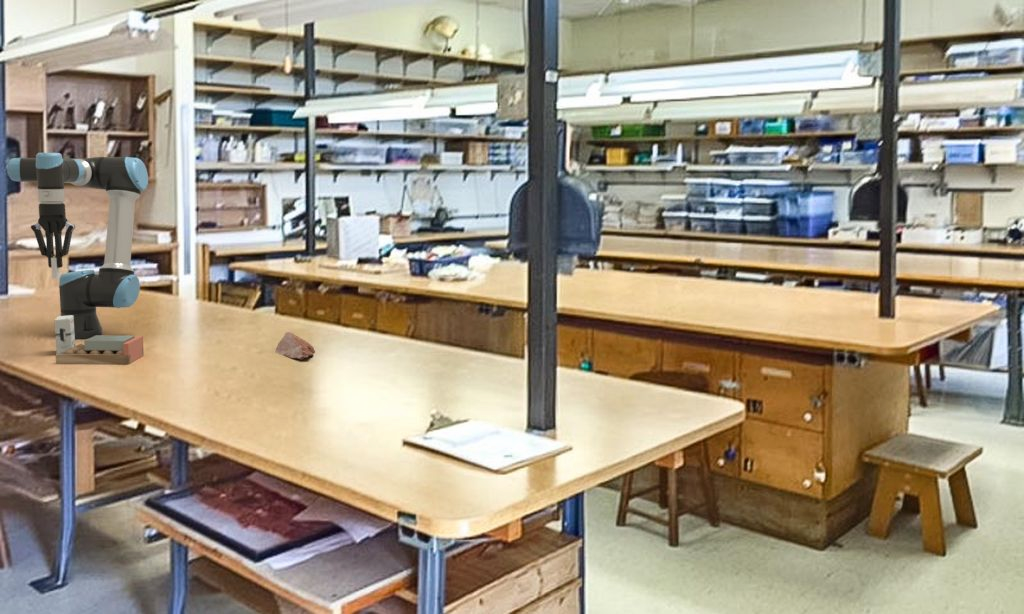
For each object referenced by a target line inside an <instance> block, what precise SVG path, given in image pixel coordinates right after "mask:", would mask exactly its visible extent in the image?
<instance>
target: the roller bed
mask: <svg viewBox="0 0 1024 614" xmlns="http://www.w3.org/2000/svg"><path fill="white" fill-rule="evenodd" d="M144 353H145V351H144V347H143V348H142V357H144V355H145V354H144ZM124 361H127V363H126V362H124ZM129 362H130V364H132V363H131V355H128V357H127V356H126V355H123V351H121V350H120V351H117V350H85V346H84V344H82V343H81V344H77V345H75V347H72V348H70V349H68V350H66V351H64V352H63V354H57V353H56V354H55V364H57V365H59V364H62V365H63V364H64V365H130V364H129Z"/></svg>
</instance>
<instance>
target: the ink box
mask: <svg viewBox="0 0 1024 614" xmlns="http://www.w3.org/2000/svg"><path fill="white" fill-rule="evenodd" d="M54 334H55V348H56V354H63V352H64V351H66V350H68V349H70V348H72V347H75V346H76V339H75V333H74V316H73V315H68V316H61V315H60V316H59V315H58V316H57V317H56V318H55V319H54Z"/></svg>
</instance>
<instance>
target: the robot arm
mask: <svg viewBox="0 0 1024 614" xmlns="http://www.w3.org/2000/svg"><path fill="white" fill-rule="evenodd" d="M6 165H7V167H6V172H7V176H8V177H9V179H10V180H11V181H14V182H20V183H24V182H28V183H36V184H37V198H38V199H37V201H38V202H39V204H38V216H39V218H38V219H37V222H36V223H35V224H32V225H30V229H31V230H32V232H33V233H34V235H35V239H36V241H37V245H38V248H39V252H40V255H41V256H44V257H47V264H48V268H49V269H50V268H51V279H53V280H55V279H59V281H58V283H59V284H58V289H59V304H60V306H59V307H60V308H59V309H60V316H68V315H73V316H74V333H75V340H76V339H77V340H78V339H79V340H80V339H89V338H91V337H93V336H96V335H103V327H102V325H101V322H100V319H99V317H98V314H97V308H116V309H124V308H130V307H132V306H133V305H134V304H135V303H136V301H137V300H138V297H139V294H140V290H141V283H140V279H139V278H138V276H137V275H136V274H135V270H134V269H133V268H132V267H131V261H132V260H131V259H132V247H133V236H134V235H133V233H134V220H135V209H136V202H137V200H138V199H139V198H140V197H141V192H142V191H146V189H148V185H149V174H148V170H147V167H146V165H145V163H144V162H143V161H142V160H141V159H140V158H138V157H129V156H93V157H87V158H86V157H84V158H72V157H71V158H69V157H67V158H63V156H62V153H60V152H37V154H36V155H35V157H13V158H11V159H10V160H8V163H7V164H6ZM64 184H71V185H73V186H76V187H84V188H90V189H96V190H105V194H106V195H107V196H108V198H109V201H108V202H109V204H108V212H107V213H108V215H107V225H106V226H107V227H106V238H105V239H106V240H105V250H104V260H103V262H104V263H103V265H102V266H100V267H99V268H98V274H97V273H96V272H95V270H94V269H85V270H77V271H71V272H65V273H62V274H61V268H63V257H64V256H67V255H68V254H69V252H70V246H71V241H72V237H73V236H72V235H73V232H74V230H75V229H76V226H75V224H71V223H69V222H68V219H67V217H66V214H67V213H66V204H65V203H63V202H66V201H65V200H66V199H65V185H64ZM41 229H43V231H44V233H45V234H44V235H45V239H44V236H43V231H42V230H41ZM64 229H65V230H66V231H65V232H64V233H65V234H64V239H63V241H62V238H63V237H62V235H63V230H64ZM45 241H46V242H45ZM62 242H63V243H62ZM54 245H55V246H54ZM54 249H55V250H54Z"/></svg>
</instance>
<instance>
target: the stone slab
mask: <svg viewBox="0 0 1024 614" xmlns="http://www.w3.org/2000/svg"><path fill="white" fill-rule="evenodd" d="M135 337H136V336H135V335H113V334H112V335H110V334H109V335H108V334H106V335H104V334H102V335H96V336H93V337H91V338H86V339H85V340H84V341H83V342H84V344H83V345H84V346H85V350H117V351H120V350H121V351H123V343H125V342H127V341H129V340H131V339H133V338H135Z"/></svg>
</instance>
